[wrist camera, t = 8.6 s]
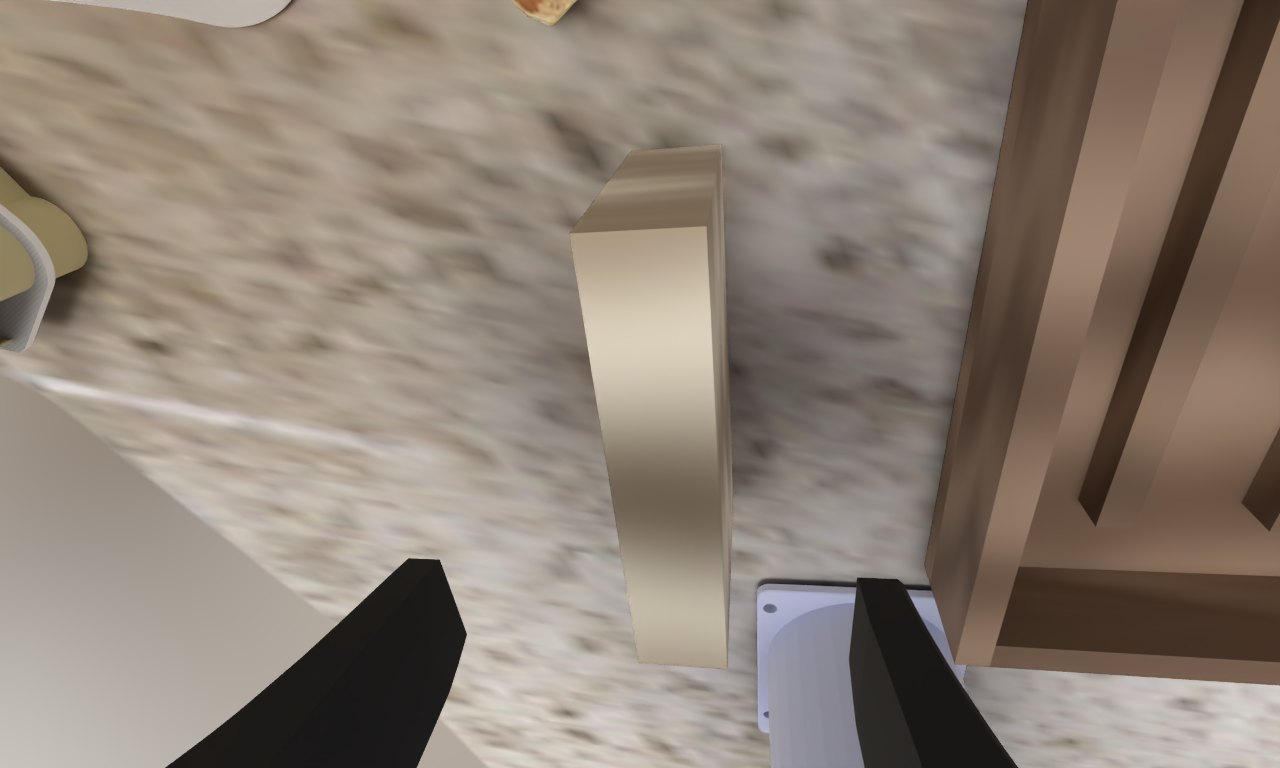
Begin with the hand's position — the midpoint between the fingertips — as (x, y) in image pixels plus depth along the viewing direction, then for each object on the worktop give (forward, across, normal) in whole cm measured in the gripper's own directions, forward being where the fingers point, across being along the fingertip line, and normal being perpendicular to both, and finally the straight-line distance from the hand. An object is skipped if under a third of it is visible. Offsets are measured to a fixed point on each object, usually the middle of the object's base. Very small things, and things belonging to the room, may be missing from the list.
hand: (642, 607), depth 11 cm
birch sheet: (+10, 0, 0) cm, 10 cm away
